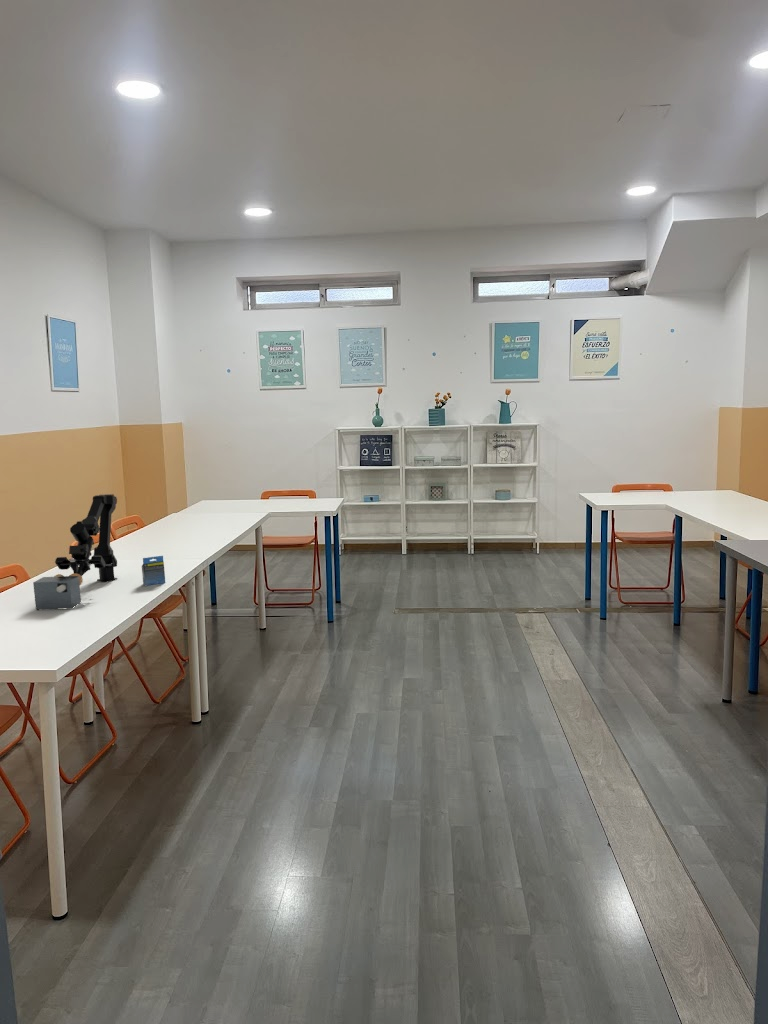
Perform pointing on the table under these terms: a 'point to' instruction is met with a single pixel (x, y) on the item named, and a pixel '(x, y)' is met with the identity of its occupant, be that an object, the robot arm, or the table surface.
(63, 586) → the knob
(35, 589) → the mount
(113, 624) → the table surface
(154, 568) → the label tape cartridge
